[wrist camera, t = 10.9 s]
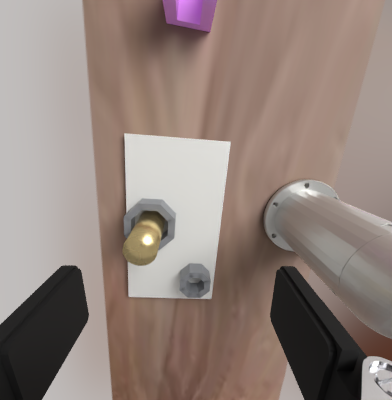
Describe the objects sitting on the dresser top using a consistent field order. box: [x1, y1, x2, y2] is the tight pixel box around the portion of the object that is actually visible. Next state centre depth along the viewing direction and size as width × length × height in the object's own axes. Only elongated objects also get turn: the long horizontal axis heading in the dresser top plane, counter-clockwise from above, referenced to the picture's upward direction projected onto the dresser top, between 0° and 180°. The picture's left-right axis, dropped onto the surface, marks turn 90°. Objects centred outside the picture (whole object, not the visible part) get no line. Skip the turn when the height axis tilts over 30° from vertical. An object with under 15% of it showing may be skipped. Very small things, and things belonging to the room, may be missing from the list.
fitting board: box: [124, 133, 230, 299], centre depth 32 cm, size 15×28×4 cm, turn 176°
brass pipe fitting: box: [123, 210, 165, 266], centre depth 28 cm, size 4×4×9 cm
